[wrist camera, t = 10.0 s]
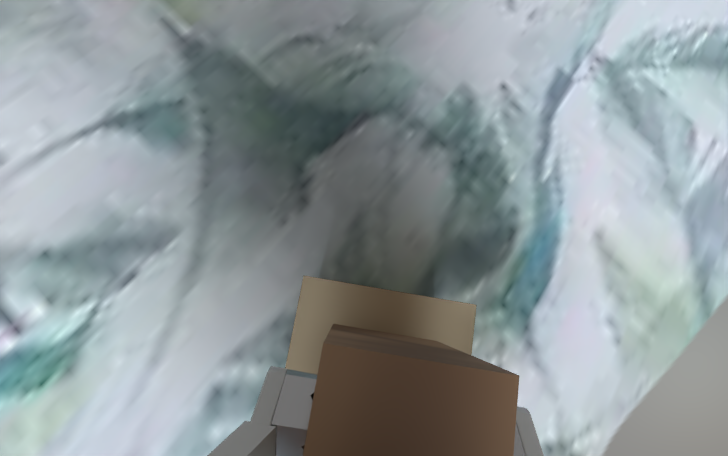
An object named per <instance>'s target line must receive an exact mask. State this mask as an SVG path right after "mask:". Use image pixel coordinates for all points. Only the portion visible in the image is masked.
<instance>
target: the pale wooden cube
mask: <svg viewBox="0 0 728 456" xmlns="http://www.w3.org/2000/svg"><path fill="white" fill-rule="evenodd" d="M475 314H476V305H474V304H468V303H462V302H456V301H450V300H445V299H439V298H433V297H427V296H421V295H415V294H409V293H403V292H398V291H392V290H386V289H380V288H374V287H368V286H362V285H356V284H351V283H345V282H339V281H333V280H327V279H321V278H315V277H309V276H303V281H302V286H301V291H300V296H299V301H298V307H297V312H296V317H295V322H294V327H293V332H292V337H291V342H290V347H289V352H288V357H287V362H286V367H285V368H286V369H290V370H296V371H302V372H308V373H314V374H318V369H319V363H320V358H321V352H322V347H323V342H324V340H325V339H326V337H327V335H328V333H329V331H330V329H331V327H332V325H333V324H338V325H344V326H350V327H356V328H362V329H368V330H374V331H380V332H386V333H392V334H398V335H404V336H410V337H416V338H422V339H428V340H434V341H438V342H441V343H443V344H445V345H448V346H450V347H452V348H455V349H457V350H459V351H462V352H464V353H467V354H469V355H471V354H472V344H473V334H474V324H475Z"/></svg>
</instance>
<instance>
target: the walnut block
mask: <svg viewBox="0 0 728 456" xmlns="http://www.w3.org/2000/svg"><path fill="white" fill-rule="evenodd" d="M518 385H519V375H516V374H514V373H511V372H509V371H507V370H504V369H502V368H500V367H497V366H495V365H493V364H490V363H488V362H485V361H483V360H481V359H478V358H476V357H474V356H471V355H469V354H467V353H464V352H462V351H459V350H457V349H455V348H452V347H450V346H448V345H445V344H443V343H441V342H438V341H434V340H428V339H422V338H416V337H410V336H404V335H398V334H392V333H386V332H380V331H374V330H368V329H362V328H356V327H350V326H344V325H338V324H333V325H332V327H331V329H330V331H329V333H328V335H327V337H326V339H325V340H324V342H323V347H322V352H321V358H320V363H319V369H318V374H317V380H316V385H315V391H314V396H313V402H312V408H311V413H310V419H309V424H308V430H307V435H306V441H305V446H304V452H303V456H513V454H514V440H515V426H516V412H517V399H518Z"/></svg>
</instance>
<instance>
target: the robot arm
mask: <svg viewBox="0 0 728 456" xmlns="http://www.w3.org/2000/svg"><path fill="white" fill-rule="evenodd" d="M316 380H317V374H314V373H308V372H302V371H296V370H290V369H286V368H280V367H273V366H271V367H270V368H269V370H268V372H267V375H266V378H265V381H264V383H263V386H262V389H261V392H260V395H259V398H258V401H257V404H256V407H255V410H254V412H253V415H252V418H251V421H250V422H249V421H245V422H244V423H242V424H241V425H240V426H239V427H238V428H237V429H236V430H235V431H234V432H233V433H232V434H230V435H229V436H228V437H227V438H226V439H225V440H224V441H223V442H222V443H221V444H220V445H218V446H217V447H216V448H215V449H214V450H213V451H212V452H211V453H210V454H209V455H208V456H303V452H304V446H305V441H306V435H307V430H308V424H309V419H310V413H311V408H312V402H313V396H314V391H315V385H316ZM513 456H544V455H543V452H542V449H541V446H540V443H539V440H538V437H537V434H536V430H535V427H534V424H533V421H532V418H531V415H530V412H529V411H528V410H527V409H526V408H524V407H517V412H516V426H515V440H514V454H513Z"/></svg>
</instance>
